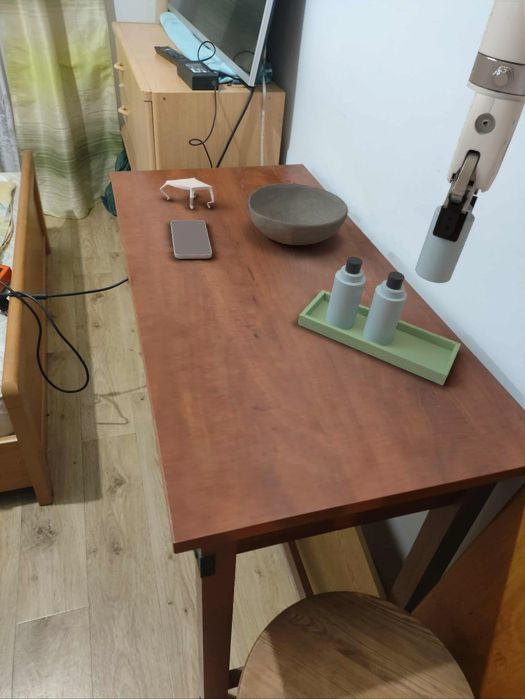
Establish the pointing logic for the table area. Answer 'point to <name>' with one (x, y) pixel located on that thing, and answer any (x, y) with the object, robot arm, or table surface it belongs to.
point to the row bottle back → (346, 294)
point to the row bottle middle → (385, 309)
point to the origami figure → (189, 188)
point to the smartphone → (190, 239)
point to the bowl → (296, 213)
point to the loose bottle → (442, 251)
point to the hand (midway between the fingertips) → (450, 228)
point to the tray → (403, 351)
